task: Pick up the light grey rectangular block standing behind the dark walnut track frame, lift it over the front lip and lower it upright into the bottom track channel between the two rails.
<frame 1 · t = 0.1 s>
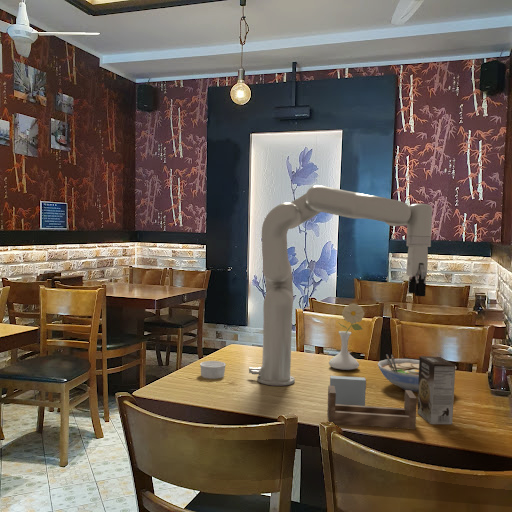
hand: (416, 294, 164), 31 cm above the table, tool pointing down, fingers open, 9 cm apart
ramen bowl: (412, 389, 166), on the table
light grey rectangular block: (346, 405, 146), on the table
coffee box: (434, 419, 137), on the table
flower in vase: (345, 369, 190), on the table
track frame: (369, 421, 133), on the table
ramekin: (212, 376, 174), on the table
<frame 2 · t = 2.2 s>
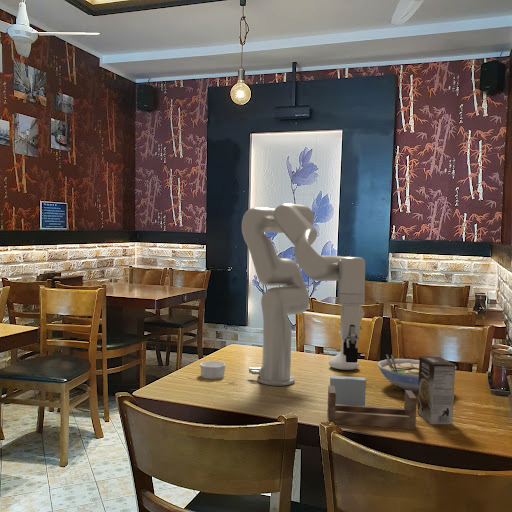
hand: (350, 358, 146), 14 cm above the table, tool pointing down, fingers open, 9 cm apart
nothing on the table moved.
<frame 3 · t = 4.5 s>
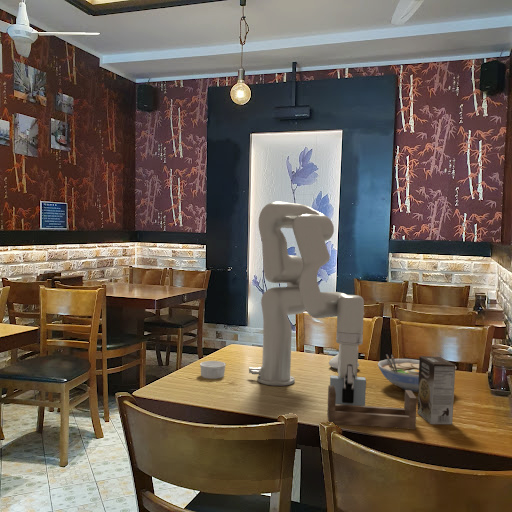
hand: (347, 400, 146), 1 cm above the table, tool pointing down, fingers closed on light grey rectangular block, 3 cm apart
light grey rectangular block: (346, 405, 146), on the table, touching gripper
everything else where it was.
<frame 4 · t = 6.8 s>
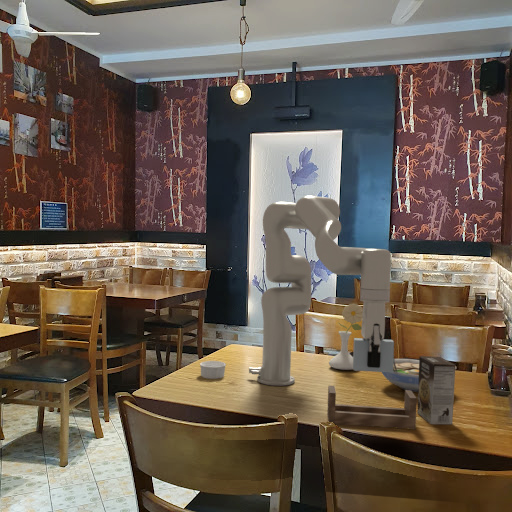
hand: (372, 364, 132), 15 cm above the table, tool pointing down, fingers closed on light grey rectangular block, 3 cm apart
light grey rectangular block: (372, 370, 132), point 14 cm above the table, touching gripper
everything else where it was.
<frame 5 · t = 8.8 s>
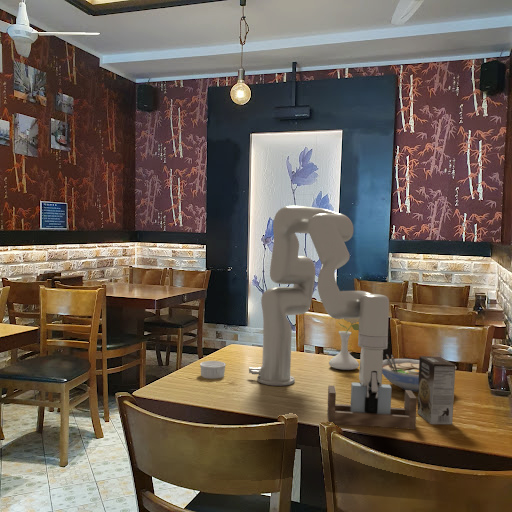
hand: (370, 409, 133), 3 cm above the table, tool pointing down, fingers closed on light grey rectangular block, 3 cm apart
light grey rectangular block: (370, 415, 133), point 2 cm above the table, touching gripper
everything else where it was.
when the fingers open (3 cm above the table, at t = 9.1 s): light grey rectangular block stays where it is, resting on track frame.
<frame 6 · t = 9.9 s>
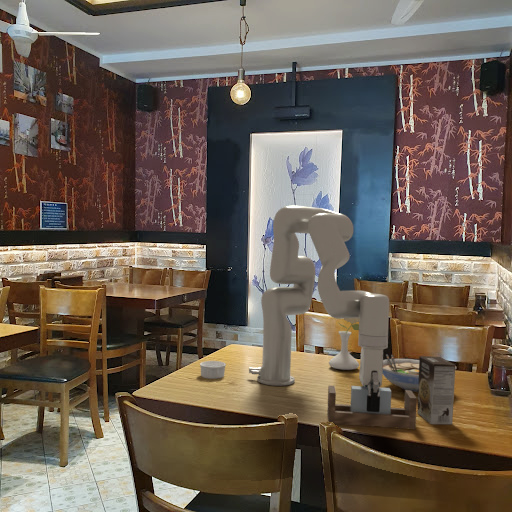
hand: (370, 405, 133), 4 cm above the table, tool pointing down, fingers open, 9 cm apart
light grey rectangular block: (369, 418, 133), point 1 cm above the table, touching track frame
everything else where it was.
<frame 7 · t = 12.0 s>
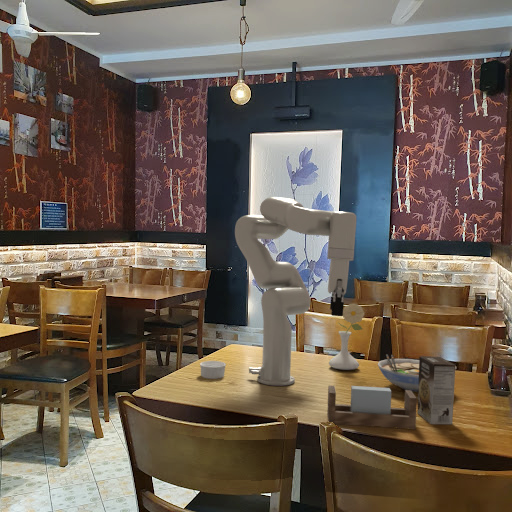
hand: (336, 312, 147), 27 cm above the table, tool pointing down, fingers open, 9 cm apart
nothing on the table moved.
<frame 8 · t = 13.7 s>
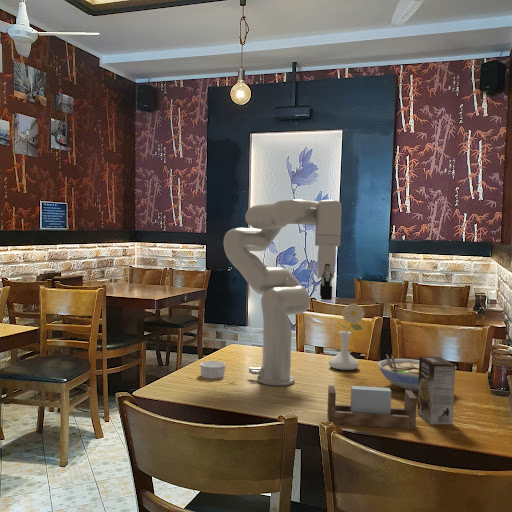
hand: (325, 297, 152), 30 cm above the table, tool pointing down, fingers open, 9 cm apart
nothing on the table moved.
at the end: light grey rectangular block inside the target area on the track frame (0.0 cm from its centre), point 0.8 cm above the track frame's base; light grey rectangular block tilted 0°; the gripper is holding nothing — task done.
